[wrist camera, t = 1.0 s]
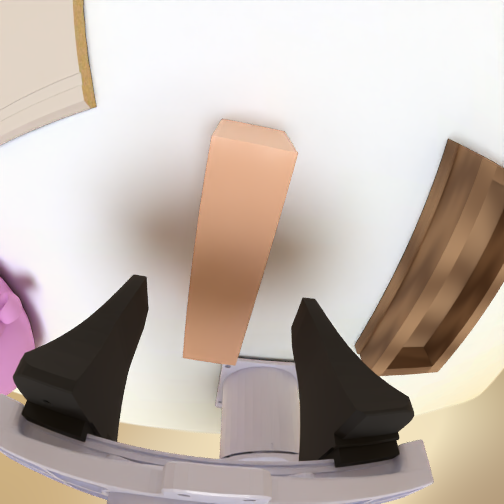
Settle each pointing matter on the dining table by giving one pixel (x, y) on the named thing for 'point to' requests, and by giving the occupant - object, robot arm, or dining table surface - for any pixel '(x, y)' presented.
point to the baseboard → (42, 64)
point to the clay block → (234, 235)
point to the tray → (442, 270)
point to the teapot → (12, 336)
